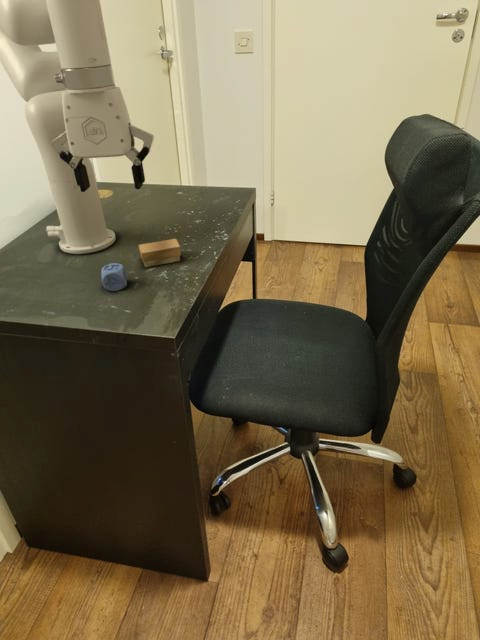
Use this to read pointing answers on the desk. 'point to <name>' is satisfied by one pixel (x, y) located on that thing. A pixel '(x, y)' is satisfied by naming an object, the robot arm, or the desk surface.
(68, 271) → the desk surface
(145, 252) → the tan rectangular brick
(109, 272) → the decorative dice
